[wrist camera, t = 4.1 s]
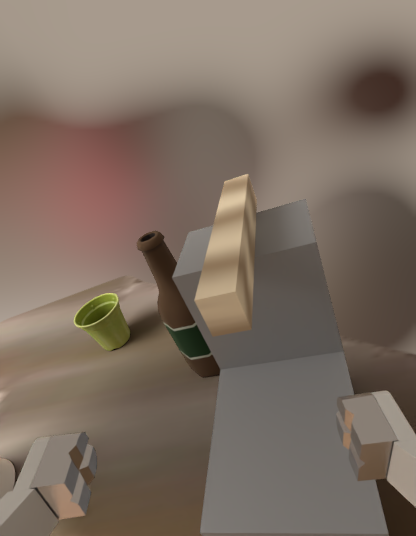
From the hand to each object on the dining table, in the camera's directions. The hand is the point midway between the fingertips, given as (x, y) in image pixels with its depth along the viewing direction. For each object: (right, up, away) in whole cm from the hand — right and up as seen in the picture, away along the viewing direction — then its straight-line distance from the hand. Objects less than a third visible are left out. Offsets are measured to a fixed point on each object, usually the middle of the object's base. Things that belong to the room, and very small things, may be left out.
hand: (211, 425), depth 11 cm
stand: (+11, -17, +27) cm, 33 cm away
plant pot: (-19, -10, +60) cm, 64 cm away
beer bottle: (+1, -10, +46) cm, 47 cm away
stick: (+3, +6, +18) cm, 19 cm away
